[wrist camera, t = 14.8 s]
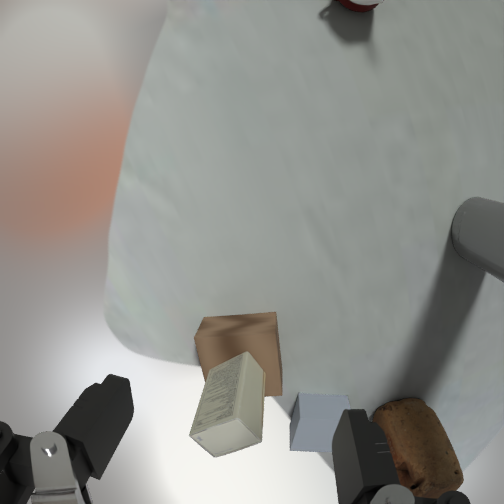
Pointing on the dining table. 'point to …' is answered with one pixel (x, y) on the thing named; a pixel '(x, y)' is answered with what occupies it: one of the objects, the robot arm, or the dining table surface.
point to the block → (419, 448)
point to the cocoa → (360, 4)
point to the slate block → (316, 421)
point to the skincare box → (231, 407)
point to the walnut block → (242, 344)
